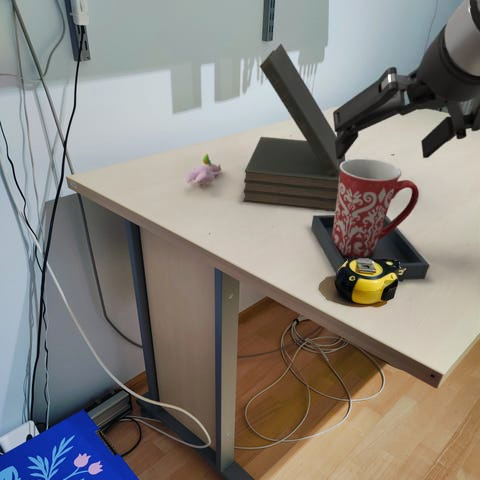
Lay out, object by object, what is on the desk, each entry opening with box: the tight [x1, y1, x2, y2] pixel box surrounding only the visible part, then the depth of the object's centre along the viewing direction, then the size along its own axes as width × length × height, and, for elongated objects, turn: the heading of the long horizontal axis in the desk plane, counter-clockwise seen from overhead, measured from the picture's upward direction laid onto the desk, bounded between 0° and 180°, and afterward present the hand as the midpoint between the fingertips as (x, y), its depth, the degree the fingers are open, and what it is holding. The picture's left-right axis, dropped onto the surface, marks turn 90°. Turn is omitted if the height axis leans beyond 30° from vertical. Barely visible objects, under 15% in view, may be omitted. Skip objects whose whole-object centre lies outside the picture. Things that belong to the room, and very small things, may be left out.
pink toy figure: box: [185, 153, 223, 186], centre depth 90 cm, size 6×6×15 cm
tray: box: [310, 214, 431, 281], centre depth 71 cm, size 14×18×3 cm
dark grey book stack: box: [242, 43, 346, 212], centre depth 85 cm, size 23×20×25 cm
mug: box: [332, 157, 420, 258], centre depth 67 cm, size 13×9×14 cm
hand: (381, 150), depth 63 cm, fingers open, 13 cm apart
